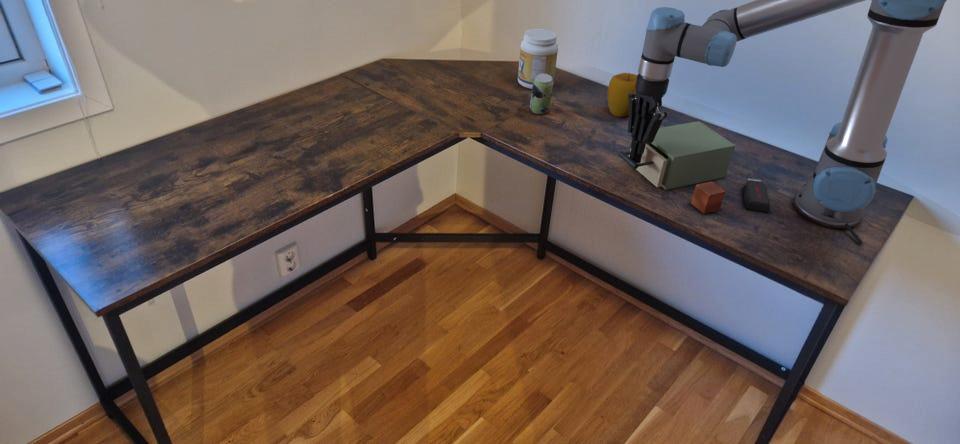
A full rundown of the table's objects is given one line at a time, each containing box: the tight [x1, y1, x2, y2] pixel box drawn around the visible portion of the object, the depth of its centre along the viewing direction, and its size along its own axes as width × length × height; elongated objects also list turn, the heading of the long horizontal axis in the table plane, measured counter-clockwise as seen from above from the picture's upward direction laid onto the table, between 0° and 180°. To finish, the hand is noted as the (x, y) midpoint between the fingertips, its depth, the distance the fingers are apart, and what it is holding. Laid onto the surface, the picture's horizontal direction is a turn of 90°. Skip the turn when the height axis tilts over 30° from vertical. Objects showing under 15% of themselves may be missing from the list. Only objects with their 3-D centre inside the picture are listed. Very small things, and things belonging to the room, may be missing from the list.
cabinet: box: [652, 120, 736, 191], centre depth 173 cm, size 20×15×10 cm
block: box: [690, 180, 727, 215], centre depth 160 cm, size 5×5×6 cm
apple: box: [606, 72, 638, 118], centre depth 198 cm, size 11×11×13 cm
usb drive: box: [742, 178, 771, 213], centre depth 165 cm, size 5×12×3 cm, turn 167°
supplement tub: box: [517, 28, 559, 90], centre depth 213 cm, size 12×12×17 cm
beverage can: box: [529, 73, 554, 115], centre depth 197 cm, size 6×7×12 cm
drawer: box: [618, 143, 671, 188], centre depth 171 cm, size 25×13×8 cm, turn 114°
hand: (634, 162), depth 167 cm, fingers closed
